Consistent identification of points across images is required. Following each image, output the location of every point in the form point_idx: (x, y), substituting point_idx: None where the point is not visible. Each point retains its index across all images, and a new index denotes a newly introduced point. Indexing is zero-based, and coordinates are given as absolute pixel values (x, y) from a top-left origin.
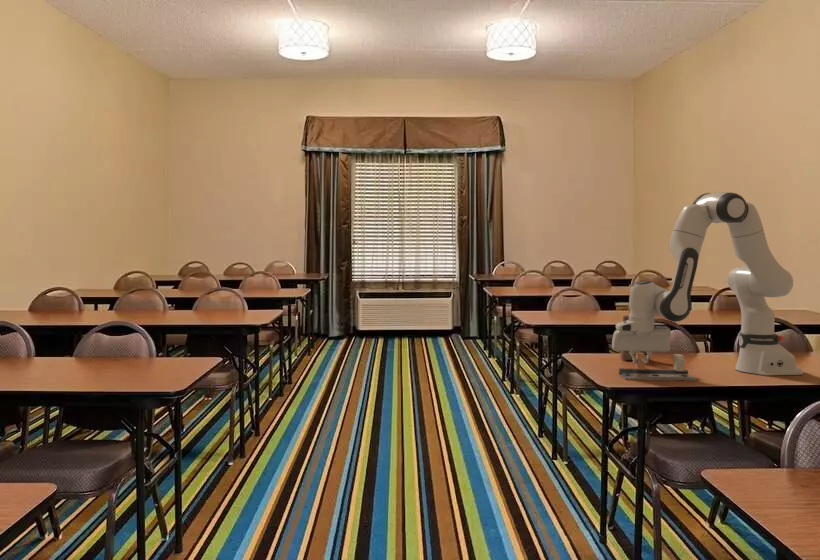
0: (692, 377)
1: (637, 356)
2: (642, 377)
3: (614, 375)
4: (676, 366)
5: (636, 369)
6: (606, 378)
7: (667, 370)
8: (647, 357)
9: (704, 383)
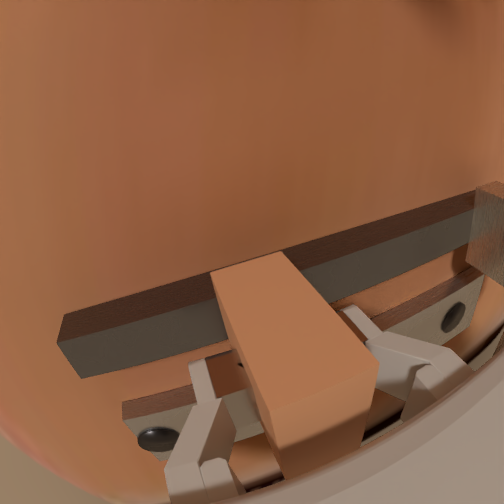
0: (461, 331)
1: (269, 434)
2: (251, 431)
3: (65, 385)
4: (486, 263)
5: (218, 332)
6: (64, 446)
7: (434, 258)
8: (375, 385)
9: (461, 341)
